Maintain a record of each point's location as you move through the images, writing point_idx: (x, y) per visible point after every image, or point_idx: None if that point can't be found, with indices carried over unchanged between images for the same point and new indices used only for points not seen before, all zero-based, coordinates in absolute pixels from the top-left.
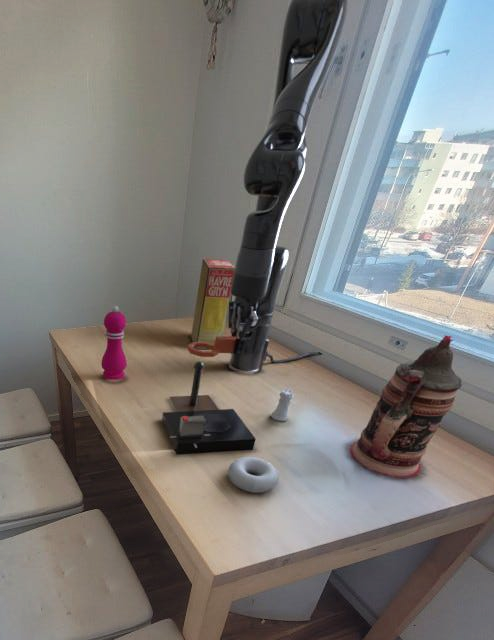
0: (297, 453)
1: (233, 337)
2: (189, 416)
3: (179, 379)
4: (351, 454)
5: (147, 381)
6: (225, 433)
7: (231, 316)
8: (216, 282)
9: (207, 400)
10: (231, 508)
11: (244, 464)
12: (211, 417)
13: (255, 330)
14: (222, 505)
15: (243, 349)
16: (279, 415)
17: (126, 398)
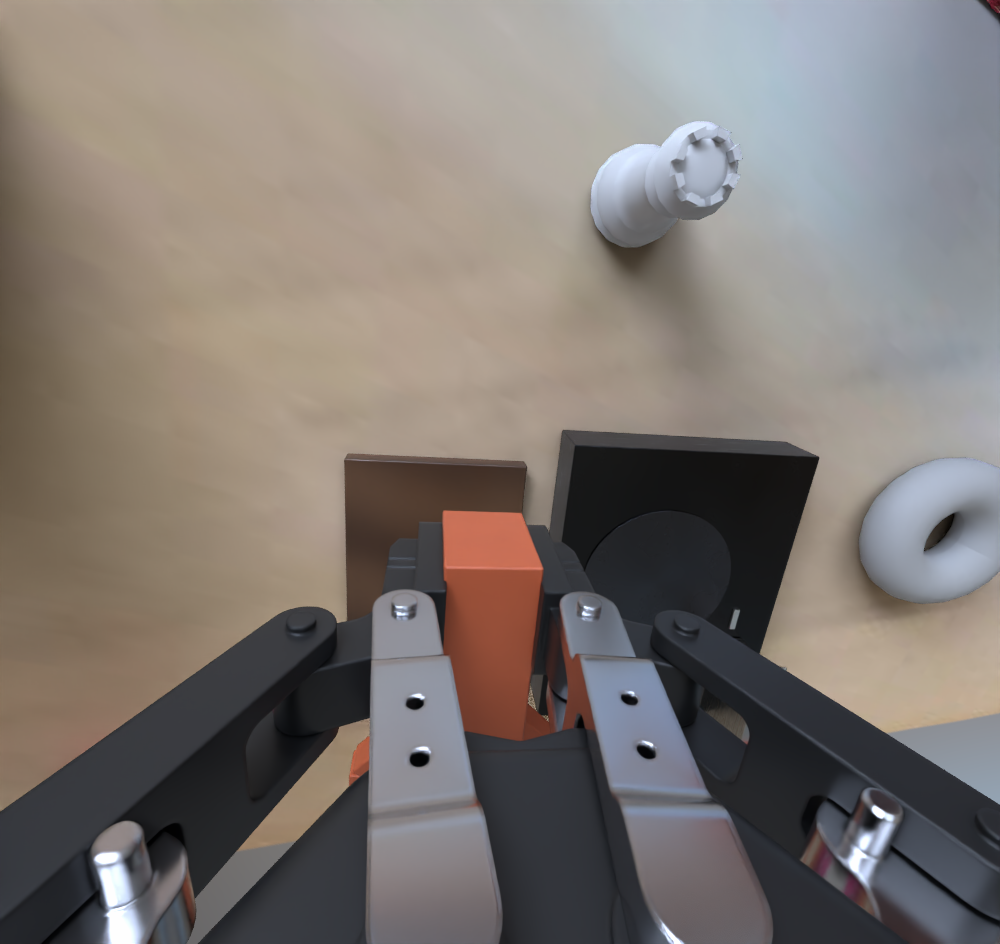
0: (873, 273)
1: (474, 665)
2: (743, 734)
3: (112, 521)
4: (997, 6)
5: (148, 665)
6: (744, 552)
7: (250, 820)
8: None
9: (403, 484)
10: (974, 612)
11: (925, 562)
12: (625, 565)
13: (817, 691)
14: (954, 628)
15: (550, 539)
16: (671, 220)
17: (321, 757)
